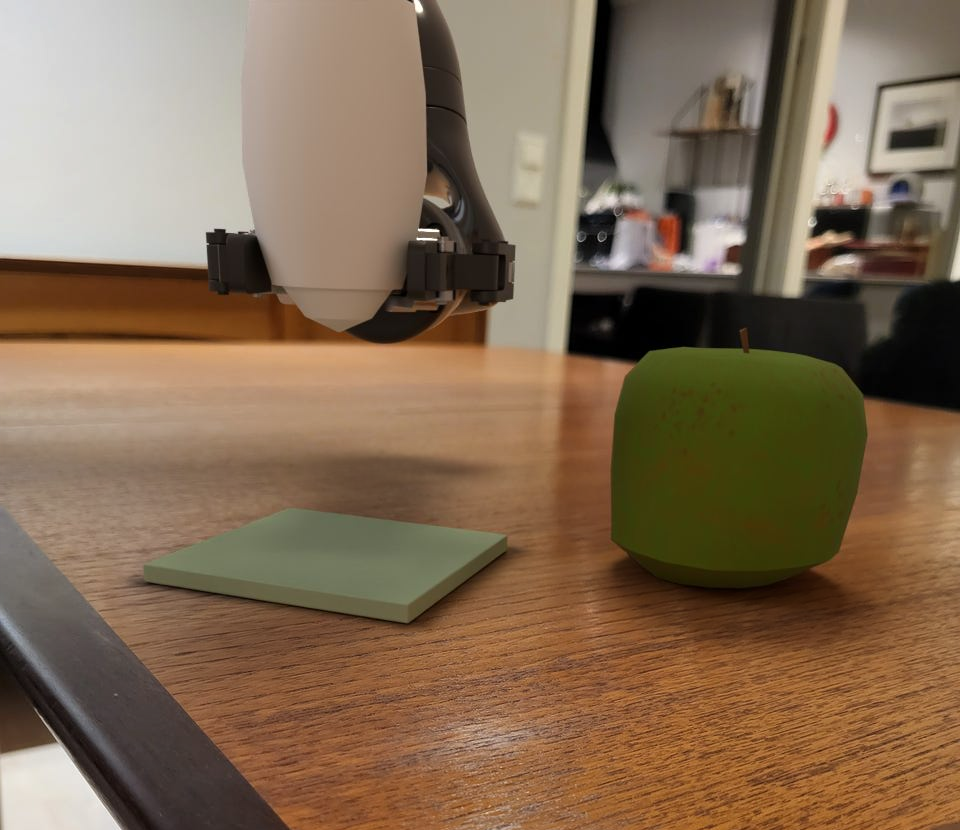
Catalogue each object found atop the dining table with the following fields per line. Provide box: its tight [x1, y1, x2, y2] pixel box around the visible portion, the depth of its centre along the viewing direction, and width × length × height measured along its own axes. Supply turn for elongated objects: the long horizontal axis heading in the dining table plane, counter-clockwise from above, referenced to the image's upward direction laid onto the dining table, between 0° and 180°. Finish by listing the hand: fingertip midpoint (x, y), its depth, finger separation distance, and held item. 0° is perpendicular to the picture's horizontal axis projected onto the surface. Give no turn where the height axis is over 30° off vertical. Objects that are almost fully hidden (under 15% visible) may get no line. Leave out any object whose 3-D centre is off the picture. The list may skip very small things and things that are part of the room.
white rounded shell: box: [241, 0, 427, 333], centre depth 41 cm, size 7×7×21 cm
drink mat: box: [142, 507, 509, 624], centre depth 45 cm, size 12×12×1 cm
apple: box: [610, 327, 869, 589], centre depth 45 cm, size 11×11×11 cm
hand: (326, 267), depth 39 cm, fingers closed on white rounded shell, 6 cm apart
